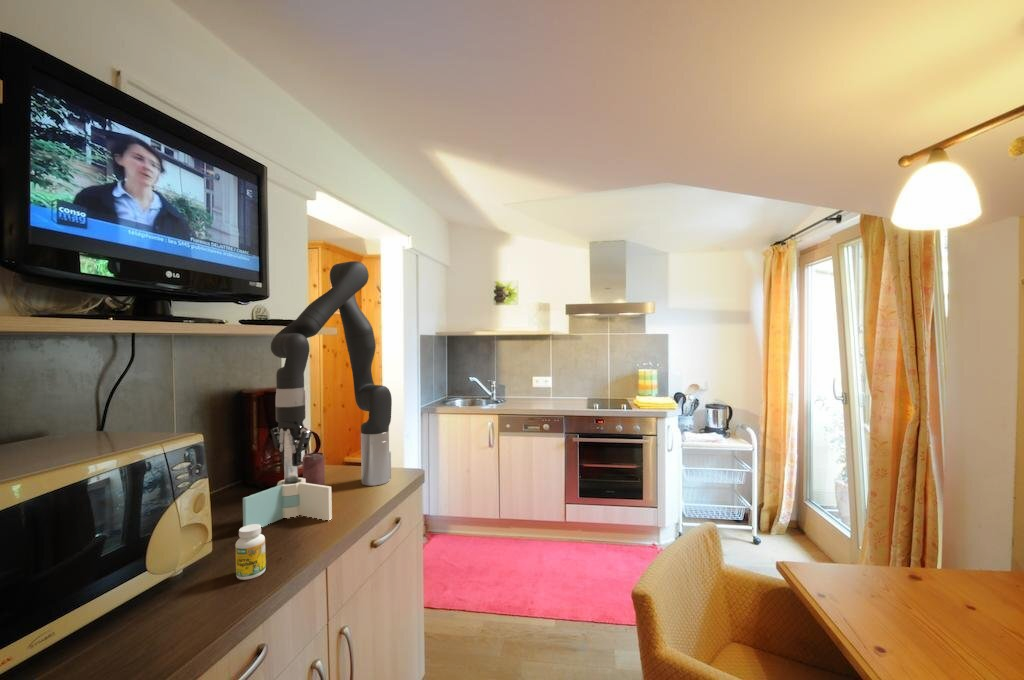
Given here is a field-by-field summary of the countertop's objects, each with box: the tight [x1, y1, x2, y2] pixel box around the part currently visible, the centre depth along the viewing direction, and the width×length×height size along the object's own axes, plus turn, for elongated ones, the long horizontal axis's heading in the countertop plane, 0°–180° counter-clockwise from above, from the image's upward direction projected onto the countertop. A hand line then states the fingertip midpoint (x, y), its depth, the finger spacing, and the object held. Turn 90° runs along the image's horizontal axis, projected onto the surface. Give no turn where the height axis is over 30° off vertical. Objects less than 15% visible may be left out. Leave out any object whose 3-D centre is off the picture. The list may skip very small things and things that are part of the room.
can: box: [302, 452, 326, 486], centre depth 135 cm, size 6×6×14 cm
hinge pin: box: [283, 431, 299, 485], centre depth 125 cm, size 4×4×16 cm
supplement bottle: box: [234, 524, 267, 581], centre depth 92 cm, size 5×5×10 cm
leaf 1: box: [242, 485, 300, 528], centre depth 120 cm, size 18×7×9 cm, turn 157°
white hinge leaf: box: [276, 476, 333, 522], centre depth 123 cm, size 7×18×9 cm, turn 67°
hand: (291, 464), depth 125 cm, fingers closed on hinge pin, 3 cm apart
